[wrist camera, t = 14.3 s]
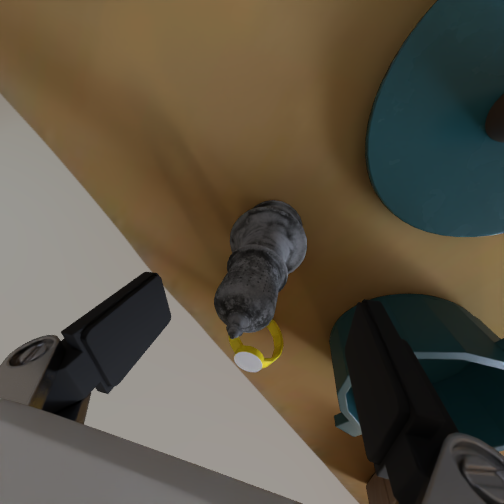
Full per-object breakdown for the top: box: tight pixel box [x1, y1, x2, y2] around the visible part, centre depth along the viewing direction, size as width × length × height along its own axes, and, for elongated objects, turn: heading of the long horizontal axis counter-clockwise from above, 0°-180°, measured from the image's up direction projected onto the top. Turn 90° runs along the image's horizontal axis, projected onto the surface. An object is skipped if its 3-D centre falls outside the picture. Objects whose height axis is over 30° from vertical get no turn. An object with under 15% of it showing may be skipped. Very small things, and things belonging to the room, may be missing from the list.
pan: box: [329, 294, 504, 451], centre depth 18 cm, size 13×19×6 cm
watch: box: [229, 320, 284, 372], centre depth 20 cm, size 6×3×6 cm, turn 61°
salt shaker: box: [214, 200, 307, 339], centre depth 12 cm, size 6×6×12 cm
